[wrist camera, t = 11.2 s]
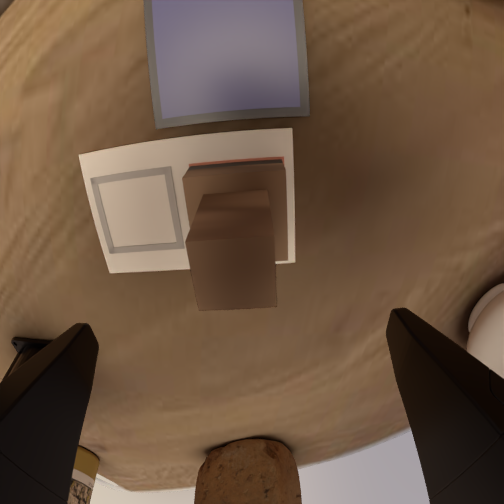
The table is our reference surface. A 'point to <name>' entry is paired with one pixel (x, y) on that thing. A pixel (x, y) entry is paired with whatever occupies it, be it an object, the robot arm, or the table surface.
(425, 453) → the robot arm
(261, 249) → the stamp
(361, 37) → the table surface
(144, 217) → the sheet
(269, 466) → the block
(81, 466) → the bark patterned cylinder
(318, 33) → the table surface
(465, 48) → the table surface
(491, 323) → the flower vase
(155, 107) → the inkpad
